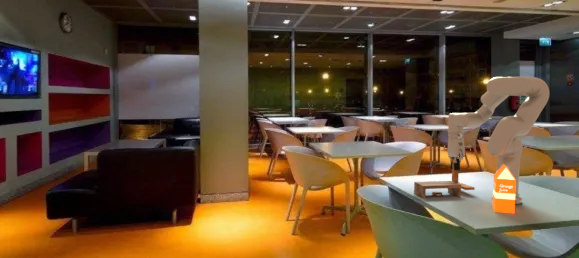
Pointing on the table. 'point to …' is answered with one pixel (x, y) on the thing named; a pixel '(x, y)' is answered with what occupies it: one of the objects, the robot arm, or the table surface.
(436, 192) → the token
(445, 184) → the wooden shelf stand
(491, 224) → the table surface
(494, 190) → the orange juice
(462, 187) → the brown l-shaped piece
